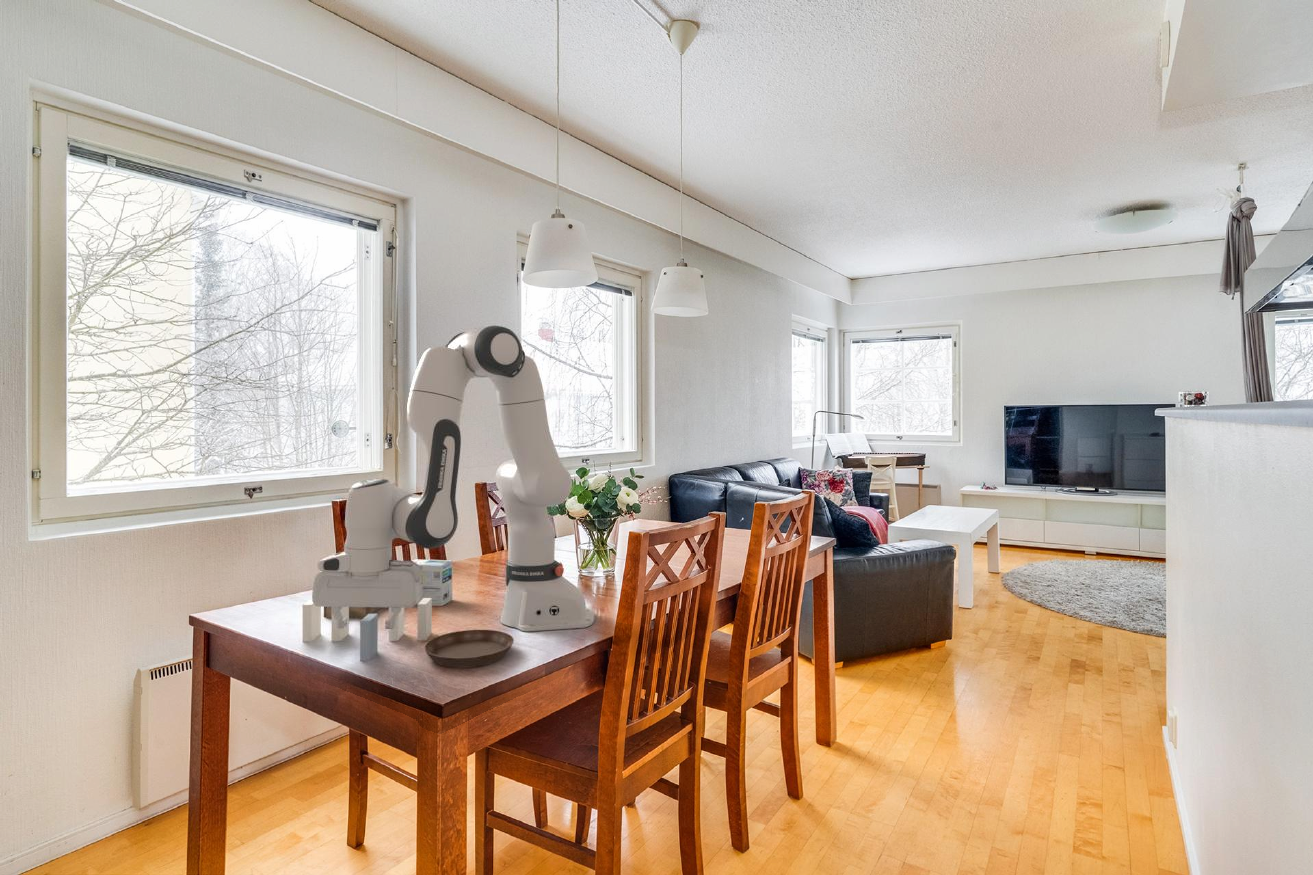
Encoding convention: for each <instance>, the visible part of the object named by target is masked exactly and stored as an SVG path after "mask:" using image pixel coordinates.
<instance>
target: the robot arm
mask: <svg viewBox="0 0 1313 875" xmlns="http://www.w3.org/2000/svg"><path fill="white" fill-rule="evenodd" d="M417 365H418V366H417V368H416V369H415V374H414V375H413V379H412V382H411V387H410V392H409V394H408V395H409V396H408V400H407V404H406V406H407V407H406V421H407V423H408V426H410V428H411V430H412V431H413V432H414V433H415V434H416V435H417V436H418V437H419V438H420V439H421V441H422V442H423V444H424V445H425V449H426V452H427V458H426V459H427V461H426V469H425V475H424V476H425V477H424V484H423V491H422V494H416V493H413V492H410V491H408V490H405V489H402V488H400V487H398V486H396V485H395V484H393V483H391V481H390V480H389V479H387V478H386V479H385V478H376V479H375V478H371V479H365V480H361V481H359V482H356V483H354V484H353V485H352V486H351V487H350V488H349V490H348V493H347V498H346V503H345V504H346V505H345V514H344V515H345V517H344V518H345V519H344V527H345V530H346V539H345V541H344V546H343V549H344V550H343V551H339V552H337V553H333V554H330V555H328V556H326V557H324V558H322V559H320V560H319V561H318V562H317V568H318V571H319V572H318V573H317V574H315V577H314V580H313V585H312V594H311V595H312V596H311V599H312V602H313V603H314V604H315V606H317V607H321V608H322V607H323V608H324V607H331V613H332V614H333V616H334V617H335V619H336V620H337V629H345V628H346V627H347V621H348V618H343V616H342V614H341V612H340V610H341V609H342V607H381V608H389V607H391V612H392V613H394V614H393V616H392V617H391V618H389V617H388V618H387V619H386V620H385V630H389V629H394V628H395V619H396V618H397V616H398V614H399V613H400V611H401V607H402V608H404V609H405V608H406V609H407V608H408V609H409V608H414V607H415V606H417V605H416V604H417V603H418V601H419V599H420V590H419V580H420V575H421V569H420V567H419V565H418V564H416V563H414V562H413V561H412V560H395V559H393V560H392V551H393V550H392V548H393V547H392V546H393V545H392V544H393V540H395V539H399V538H400V539H402V540H403V541H408V542H410V543H413V544H415V545H417V546H419V547H421V548H423V549H427V550H433V549H439V548H440V547H442V546H444V545H446V544H447V543H448V542H450V540H451V539H452V538H453V536H454V535H455V534H456V530H457V528H458V524H459V517H458V509H457V502H456V500H457V499H456V493H457V485H458V484H457V483H458V476H459V466H460V459H461V458H460V457H461V449H462V448H461V445H462V436H461V429H460V424H461V414H462V413H461V412H462V408H463V402H464V397H465V391H466V388H467V385H468V383H469V382H470V380H471V379H473V378H489V379H490V380H491V382H492V384H493V385H494V388H495V393H496V401H497V411H498V415H499V416H498V417H499V424H500V431H501V436H502V439H503V441H504V442H505V443H506V445H507V447H508V448H509V451H510V453H511V456H512V458H511V459H508V460H506V461H504V462H502V463H501V464H500V465H499V467H498V468H497V470H496V471H495V485H496V488H497V489H498V491H499V493H500V496H501V500H502V505H503V509H504V514H505V519H506V524H507V560H506V564H505V585H506V591H505V598H504V604H503V609H502V613H501V617H500V619H499V621H500V622H501V624H503V625H505V626H508V627H512V628H515V629H517V630H520V631H522V632H537V631H552V630H565V629H566V630H568V629H578V628H579V629H582V628H588V627H589V626H591V625H593V624H594V622H595V619H596V618H595V612H594V611H593V610H592V609H590V608H588V607H587V606H586V600H585V597H584V594H583V592H582V590H581V589H580V588H579V587H578V586H576V585H574V584H573V583H572V582H570V581H569V580H568V579H567V578H566V577H564V576H563V574H564V571H565V568H564V565H563V564H562V562H561V561H560V562H559V561H557V560H556V559H555V554H556V553H555V546H556V545H555V541H556V538H555V537H556V536H555V535H556V532H555V531H556V530H555V527H554V524H553V523H552V521H551V519H550V516H549V512H548V507H549V508H550V507H555V506H559V505H561V504H563V503H564V502H565V501H566V500H567V499H568V498H569V497H570V494H571V492H572V489H573V479H572V476H571V473H570V472H569V470H568V469H566V467H565V465H563V464H564V463H563V462H562V461H561V459H560V457H559V453H558V451H557V449H556V446H555V443H554V440H553V437H552V435H551V432H550V426H549V420H548V414H547V406H546V400H545V392H544V388H543V387H544V386H543V382H542V378H541V376H540V375H541V374H540V372H539V369H538V366H537V363H536V362H535V360H534V359H533V358H532V357H530V356H528V355H526V353H525V351H524V350H523V346H522V343H521V341H520V339H519V337H518V336H517V334H516V333H515V332H514V331H513V330H511V329H510V328H507V327H504V326H500V325H489V326H481V327H479V326H478V327H475V328H472V329H470V330H468V331H464V332H460V333H458V334H456V335H454V336H453V337H452V338H451V339H450V340H449V341H448V342H447V343H446V345H445V346H443V345H442V346H441V345H439V346H432V347H429V348H427V350H425V351H424V352H423V354H422V356H421V358H420V360H419V363H418V364H417ZM413 565H415V566H413Z"/></svg>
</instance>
